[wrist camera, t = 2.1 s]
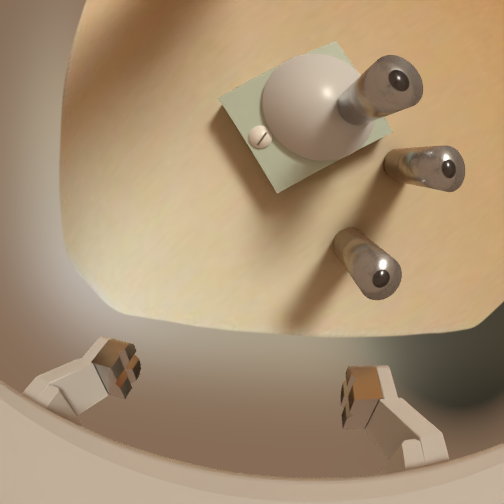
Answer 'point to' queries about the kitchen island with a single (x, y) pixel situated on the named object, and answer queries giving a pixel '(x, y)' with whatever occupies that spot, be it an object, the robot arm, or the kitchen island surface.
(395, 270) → the cylinder
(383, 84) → the cylinder
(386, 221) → the kitchen island surface
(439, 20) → the kitchen island surface
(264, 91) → the scale
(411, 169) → the cylinder
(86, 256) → the kitchen island surface
